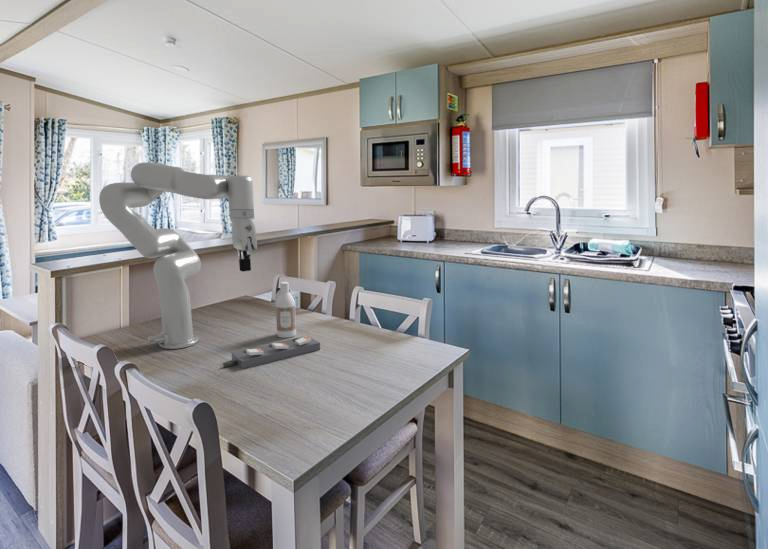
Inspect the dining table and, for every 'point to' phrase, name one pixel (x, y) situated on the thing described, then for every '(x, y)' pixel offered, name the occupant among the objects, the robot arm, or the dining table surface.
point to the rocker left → (254, 351)
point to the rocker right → (303, 340)
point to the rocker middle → (280, 346)
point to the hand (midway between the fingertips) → (245, 270)
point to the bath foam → (285, 313)
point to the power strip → (272, 353)
